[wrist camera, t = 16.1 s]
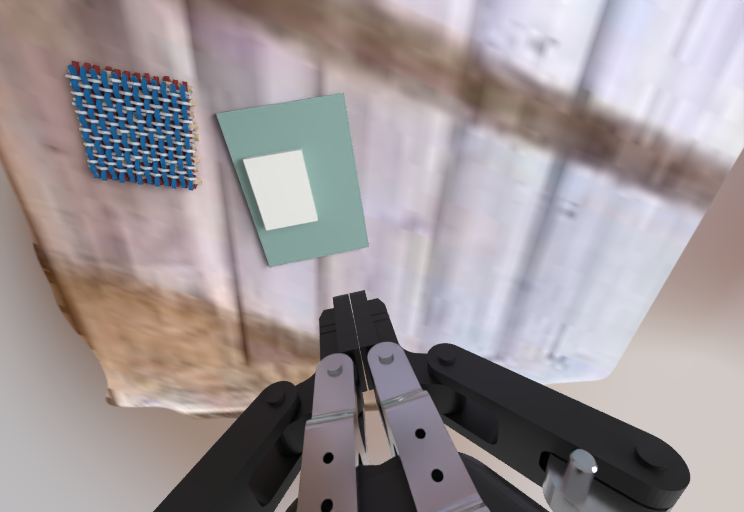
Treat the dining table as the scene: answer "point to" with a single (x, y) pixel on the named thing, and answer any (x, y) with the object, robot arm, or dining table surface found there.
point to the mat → (324, 167)
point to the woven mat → (136, 126)
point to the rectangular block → (281, 188)
